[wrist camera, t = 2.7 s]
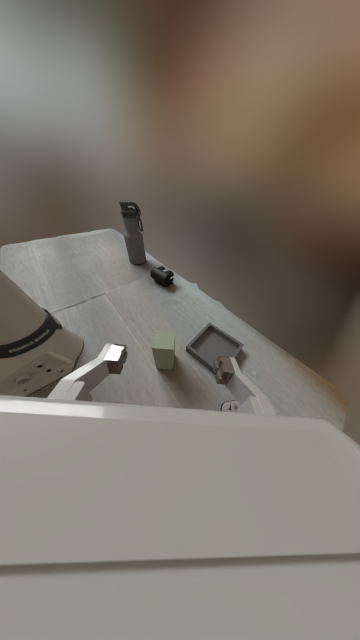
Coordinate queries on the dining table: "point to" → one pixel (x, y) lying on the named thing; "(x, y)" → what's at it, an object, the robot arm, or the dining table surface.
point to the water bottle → (133, 232)
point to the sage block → (164, 349)
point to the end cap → (162, 276)
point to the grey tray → (213, 346)
